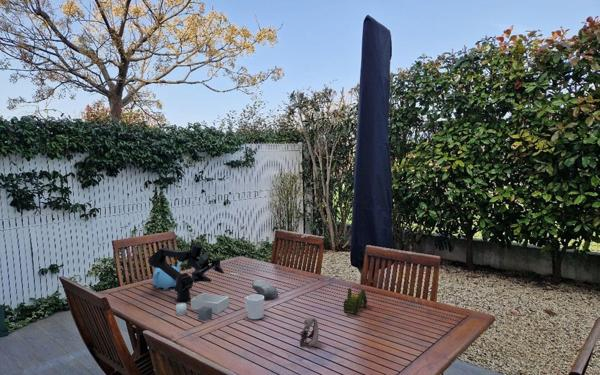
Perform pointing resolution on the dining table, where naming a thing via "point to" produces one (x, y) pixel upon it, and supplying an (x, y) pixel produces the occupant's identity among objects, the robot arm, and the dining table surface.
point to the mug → (255, 306)
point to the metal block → (204, 313)
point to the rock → (265, 289)
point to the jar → (180, 309)
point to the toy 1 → (314, 333)
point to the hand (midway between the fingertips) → (217, 276)
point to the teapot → (164, 278)
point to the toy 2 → (354, 301)
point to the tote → (210, 302)
